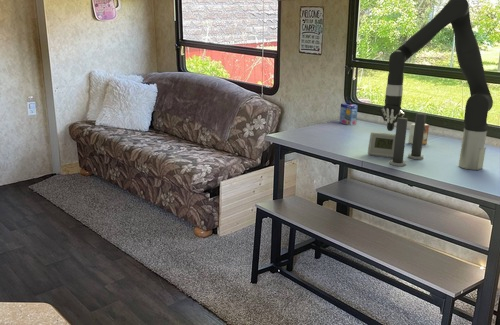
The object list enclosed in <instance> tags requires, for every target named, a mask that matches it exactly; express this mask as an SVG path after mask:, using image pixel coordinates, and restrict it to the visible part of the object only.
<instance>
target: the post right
mask: <svg viewBox="0 0 500 325" xmlns="http://www.w3.org/2000/svg"><path fill="white" fill-rule="evenodd" d="M426 118H427V114H426V113H423V112H422V113H421V112H418V113H417V112H416V114H415V121H414V124H415V127H414V135H413V143H412V144H411V151H410V153H408V154H407V155H408V156H407V157H408V158H409V159H412V160H424V155H422V149H423V144H422V142H423V135H424V127H425V124H426Z"/></svg>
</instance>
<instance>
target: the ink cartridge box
mask: <svg viewBox="0 0 500 325" xmlns="http://www.w3.org/2000/svg"><path fill="white" fill-rule="evenodd" d="M358 106H359V105H358V104H353V103H352V102H351V101H350V100H345V102H344V103H340V112H339V124H340V123H341V124H344V125H348V126H355V125H358V124H357V122H358Z"/></svg>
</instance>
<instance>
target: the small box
mask: <svg viewBox="0 0 500 325" xmlns="http://www.w3.org/2000/svg"><path fill="white" fill-rule="evenodd" d="M414 127H415V123H410V125H409V135H408V140H407V142H408V144H411V145H412V143H413V135H414ZM429 130H430V124H427V123H425V127H424V135H423V142H422V145H428V137H429V136H428V135H429Z"/></svg>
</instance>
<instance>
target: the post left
mask: <svg viewBox="0 0 500 325" xmlns="http://www.w3.org/2000/svg"><path fill="white" fill-rule="evenodd" d="M396 118H397V117H396ZM408 119H409V118H407V117H402V118H397V122H396V126H395V127H396V128H395V145H394V154H393V158H392V159H391V160H389V164H390V165H391V166H393V167H404V166H406V164H407V163H406V161H404V156H405V155H404V153H405V147H406V137H407V128H408V121H409V120H408Z"/></svg>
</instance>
